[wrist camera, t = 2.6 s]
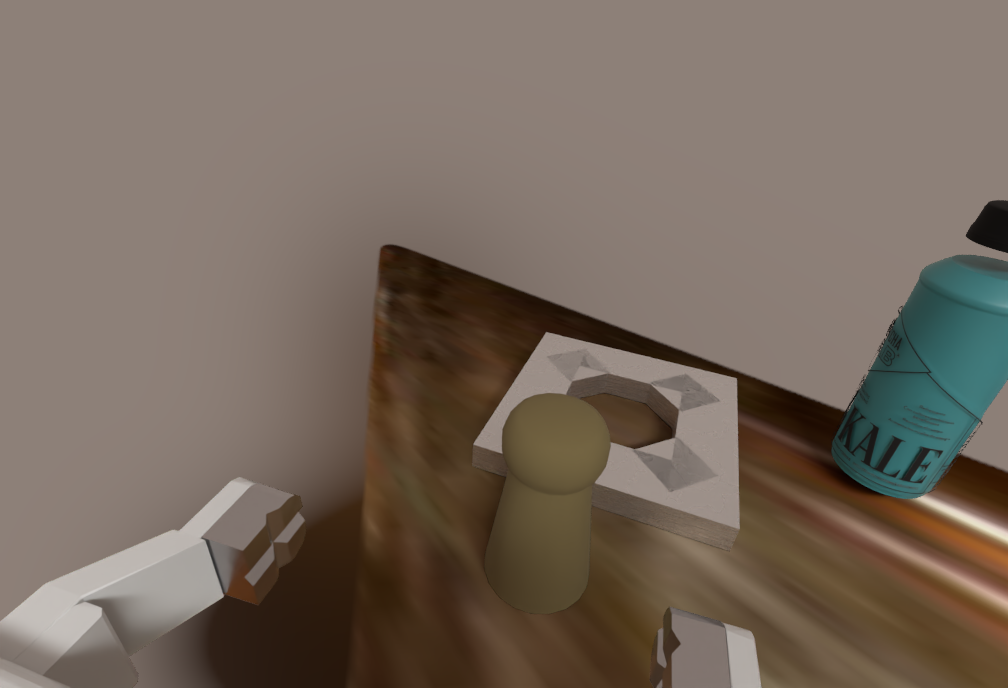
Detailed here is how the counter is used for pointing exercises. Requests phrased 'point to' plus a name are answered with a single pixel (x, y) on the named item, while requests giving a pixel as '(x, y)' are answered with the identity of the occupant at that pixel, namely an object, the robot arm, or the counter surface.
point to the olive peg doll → (546, 503)
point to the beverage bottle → (932, 371)
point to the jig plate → (654, 468)
